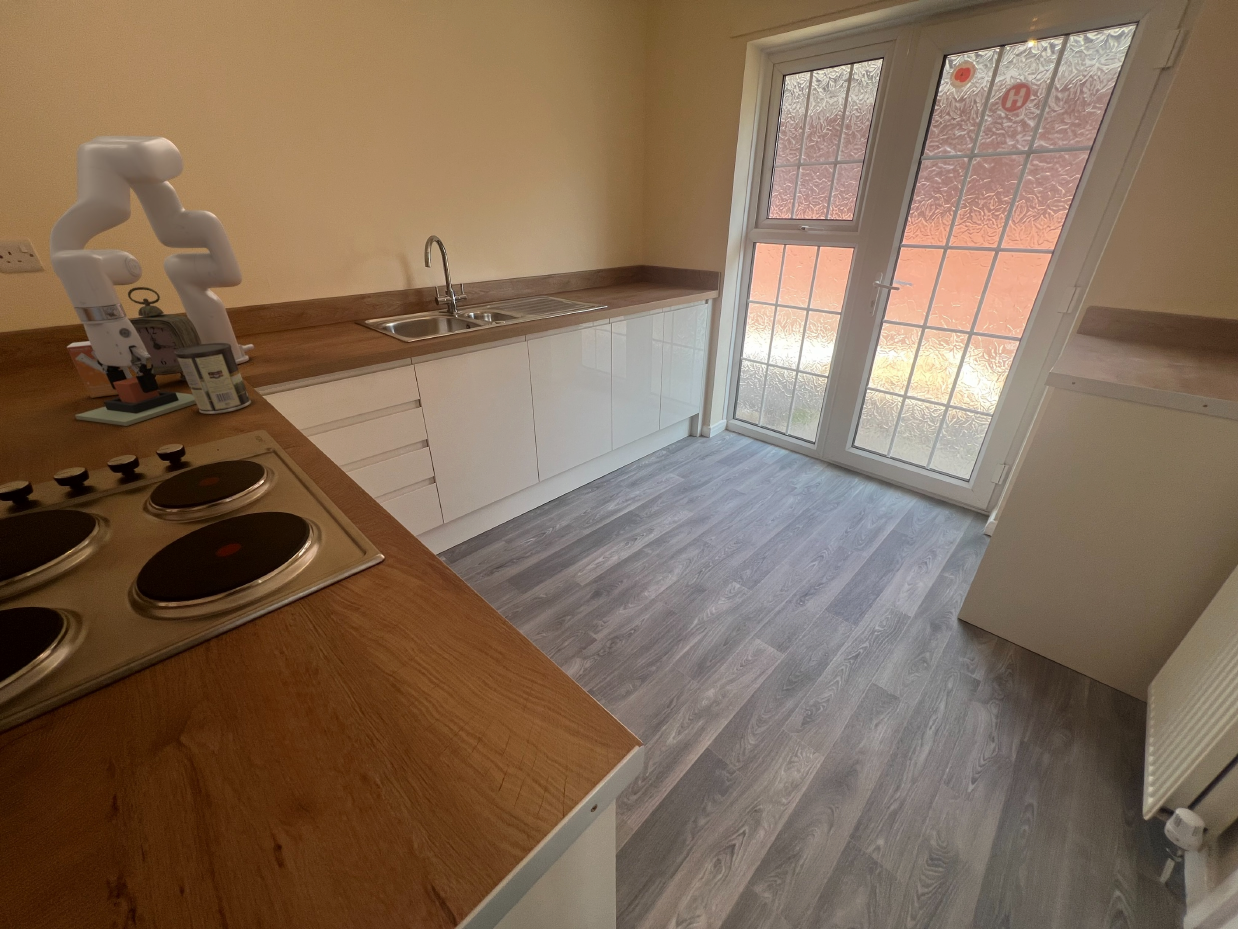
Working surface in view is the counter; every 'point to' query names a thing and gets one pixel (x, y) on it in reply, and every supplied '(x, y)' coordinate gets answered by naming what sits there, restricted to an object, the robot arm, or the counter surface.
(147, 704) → the counter surface
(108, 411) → the back pad
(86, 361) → the small box
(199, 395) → the coffee can
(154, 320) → the tabletop clock
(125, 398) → the pad block
